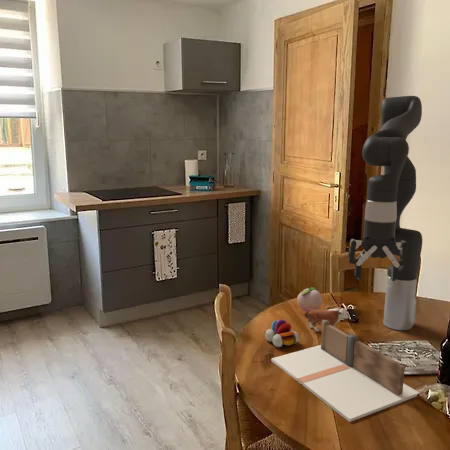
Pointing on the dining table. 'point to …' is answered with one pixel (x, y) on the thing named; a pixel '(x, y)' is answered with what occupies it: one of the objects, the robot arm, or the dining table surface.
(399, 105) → the robot arm
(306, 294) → the decorative fruit
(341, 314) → the bull figurine
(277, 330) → the rainbow toy vehicle
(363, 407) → the board
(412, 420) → the dining table surface
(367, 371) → the hinged fence panel
